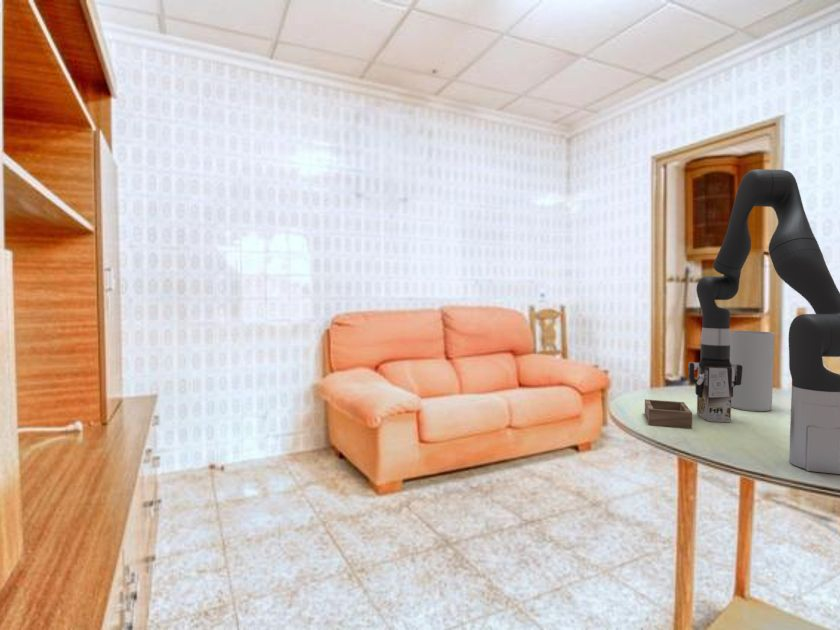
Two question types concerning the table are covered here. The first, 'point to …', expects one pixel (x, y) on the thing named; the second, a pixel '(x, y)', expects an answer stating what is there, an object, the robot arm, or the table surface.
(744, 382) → the cylinder vase
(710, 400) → the coffee box
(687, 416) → the brown wooden tray
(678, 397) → the table surface
